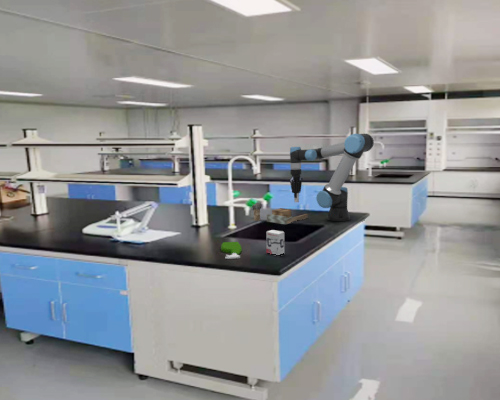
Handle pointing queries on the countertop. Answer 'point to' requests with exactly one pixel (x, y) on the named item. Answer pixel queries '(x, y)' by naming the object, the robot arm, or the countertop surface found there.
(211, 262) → the countertop surface
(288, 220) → the bay
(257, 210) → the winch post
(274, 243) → the ink box
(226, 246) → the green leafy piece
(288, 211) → the crate
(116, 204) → the countertop surface
